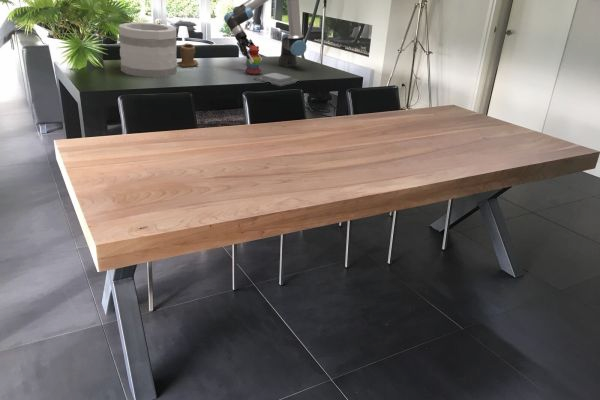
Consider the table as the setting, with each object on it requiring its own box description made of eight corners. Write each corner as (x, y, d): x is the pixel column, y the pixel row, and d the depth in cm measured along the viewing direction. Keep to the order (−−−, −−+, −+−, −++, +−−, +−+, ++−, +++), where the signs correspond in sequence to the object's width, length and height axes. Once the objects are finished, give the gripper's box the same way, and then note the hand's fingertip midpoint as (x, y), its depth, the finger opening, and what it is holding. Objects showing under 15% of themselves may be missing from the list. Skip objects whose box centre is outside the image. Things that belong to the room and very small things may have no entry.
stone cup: (184, 68, 341) (183, 46, 334) (174, 65, 348) (174, 42, 342) (202, 67, 351) (203, 45, 344) (193, 63, 358) (193, 42, 352)
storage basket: (164, 64, 347) (163, 23, 335) (185, 76, 323) (185, 31, 311) (113, 66, 328) (110, 22, 316) (132, 78, 303) (129, 31, 291)
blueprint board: (272, 75, 350) (273, 70, 348) (299, 81, 340) (299, 77, 339) (253, 79, 333) (254, 74, 331) (280, 86, 323) (281, 81, 321)
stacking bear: (261, 71, 352) (263, 45, 344) (259, 74, 343) (260, 47, 335) (246, 69, 352) (247, 43, 344) (243, 72, 343) (244, 45, 335)
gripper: (246, 36, 354) (262, 63, 353) (226, 38, 337) (243, 67, 336) (252, 29, 349) (269, 57, 349) (232, 31, 332) (250, 60, 332)
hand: (256, 61), depth 343 cm, fingers closed on stacking bear, 9 cm apart
